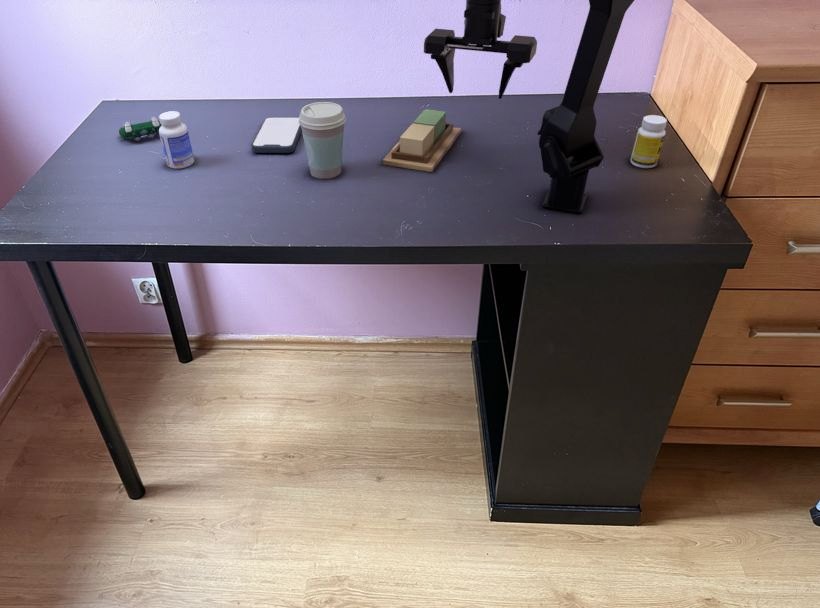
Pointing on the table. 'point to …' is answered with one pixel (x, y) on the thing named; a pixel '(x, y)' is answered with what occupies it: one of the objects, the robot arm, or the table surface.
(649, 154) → the supplement bottle
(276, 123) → the phone case
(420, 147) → the beige rectangular block
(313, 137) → the coffee cup
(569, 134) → the robot arm
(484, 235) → the table surface
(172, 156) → the pill bottle
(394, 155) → the wooden tray
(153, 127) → the green toy car
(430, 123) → the green rectangular block
